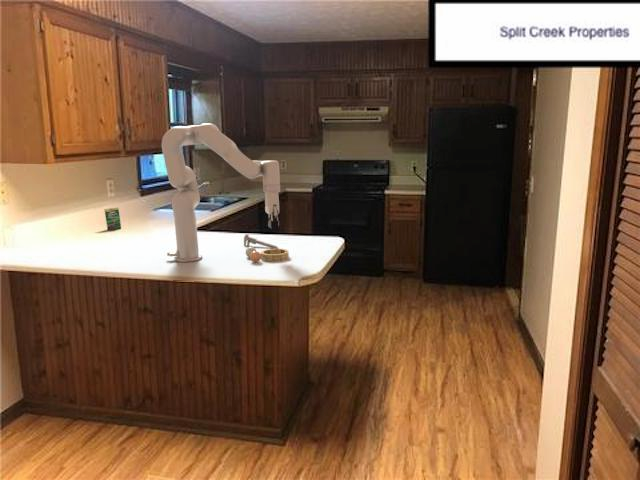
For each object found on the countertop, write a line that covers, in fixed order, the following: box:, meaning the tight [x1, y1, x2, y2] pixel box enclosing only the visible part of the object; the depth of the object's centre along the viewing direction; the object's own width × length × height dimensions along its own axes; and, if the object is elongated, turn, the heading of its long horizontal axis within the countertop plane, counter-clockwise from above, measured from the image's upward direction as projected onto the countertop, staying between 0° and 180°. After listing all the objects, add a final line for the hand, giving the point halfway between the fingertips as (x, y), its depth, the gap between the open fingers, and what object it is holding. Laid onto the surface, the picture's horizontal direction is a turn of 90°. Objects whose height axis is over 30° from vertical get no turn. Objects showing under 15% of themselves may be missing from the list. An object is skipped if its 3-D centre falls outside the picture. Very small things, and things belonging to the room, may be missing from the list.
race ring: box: [260, 248, 290, 263], centre depth 236 cm, size 12×12×3 cm
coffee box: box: [104, 207, 122, 231], centre depth 317 cm, size 8×3×13 cm, turn 118°
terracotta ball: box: [249, 250, 262, 263], centre depth 229 cm, size 5×5×5 cm
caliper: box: [243, 233, 280, 249], centre depth 259 cm, size 20×1×6 cm, turn 63°
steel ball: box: [267, 219, 280, 229], centre depth 233 cm, size 5×5×5 cm
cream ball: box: [245, 246, 257, 258], centre depth 238 cm, size 5×5×5 cm
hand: (273, 228), depth 233 cm, fingers closed on steel ball, 4 cm apart
